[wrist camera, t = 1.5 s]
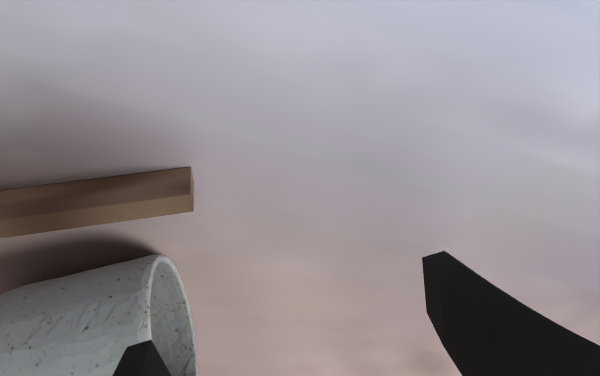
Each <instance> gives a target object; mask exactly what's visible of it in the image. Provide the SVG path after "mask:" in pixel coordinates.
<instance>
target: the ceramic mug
mask: <svg viewBox="0 0 600 376" xmlns="http://www.w3.org/2000/svg"><path fill="white" fill-rule="evenodd" d="M148 340H152V342H153V344H154V346H155V347H156V349H157V351H158V353H159V354H160V356H161V358H162V360H163V361H164V363H165V365H166V367H167V368H168V370H169V372H170V374H171V376H198V364H197V349H196V341H195V332H194V327H193V320H192V315H191V310H190V306H189V303H188V300H187V297H186V292H185V288H184V285H183V282H182V280H181V278H180V275H179V273H178V270H177V269H176V268H175V265H174V263H173V262H172V261H171V260H170V259H169V258H168V257H167V256H166V255H162V254H155V255H149V256H145V257H142V258H138V259H134V260H130V261H126V262H121V263H117V264H112V265H108V266H104V267H100V268H96V269H92V270H88V271H84V272H80V273H76V274H72V275H68V276H64V277H60V278H55V279H50V280H45V281H40V282H36V283H32V284H28V285H24V286H20V287H17V288H15V289H13V290H10V291H7V292H5V293H2V294H0V376H112V375H113V373H114V371H115V369H116V367H117V365H118V363H119V361H120V359H121V357H122V355H123V353H124V351H125V350H126V348H127V347H128V346H131V345H134V344H138V343H141V342H144V341H148Z"/></svg>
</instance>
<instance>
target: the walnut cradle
mask: <svg viewBox="0 0 600 376" xmlns="http://www.w3.org/2000/svg"><path fill="white" fill-rule="evenodd" d="M193 202H194V182H193V176H192V171H191V167H186V168H178V169H170V170H162V171H154V172H146V173H138V174H130V175H122V176H114V177H106V178H98V179H90V180H82V181H74V182H66V183H58V184H50V185H42V186H34V187H26V188H18V189H10V190H2V191H0V238H5V237H13V236H20V235H27V234H34V233H41V232H48V231H56V230H63V229H70V228H77V227H84V226H91V225H99V224H106V223H113V222H120V221H127V220H135V219H142V218H149V217H156V216H163V215H170V214H178V213H185V212H192V211H193Z"/></svg>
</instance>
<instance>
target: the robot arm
mask: <svg viewBox="0 0 600 376" xmlns="http://www.w3.org/2000/svg"><path fill="white" fill-rule="evenodd" d="M422 262H423V274H424V286H425V298H426V309H427V314H428V316H429V318H430V320H431V322H432V324H433V326H434V328H435V330H436V332H437V334H438V336H439V338H440V340H441V342H442V344H443V346H444V348H445V349H446V351H447V352H448V354H449V356H450V357H451V359H452V360H453V362H454V363H455V365H456V366H457V368H458V370H459V371H460V373H461V374H462V376H600V346H599V345H597V344H595V343H593V342H591V341H589V340H587V339H585V338H583V337H581V336H579V335H577V334H575V333H573V332H571V331H570V330H568V329H566V328H564V327H562V326H560V325H558V324H557V323H555V322H553V321H551V320H550V319H548V318H546V317H544V316H543V315H541V314H539V313H537V312H536V311H534V310H532V309H531V308H529V307H527V306H526V305H524V304H522V303H521V302H519V301H518V300H516V299H515V298H513V297H511V296H510V295H508V294H507V293H505V292H504V291H502V290H501V289H499V288H497V287H496V286H494V285H493V284H491V283H490V282H488V281H487V280H486V279H484V278H483V277H481V276H480V275H478V274H477V273H475V272H474V271H473V270H471V269H470V268H468V267H467V266H465V265H464V264H463V263H461V262H460V261H458V260H457V259H456V258H454V257H453V256H451V255H450V254H449V253H447V252H445V251H442V252H439V253H436V254H432V255H429V256H426V257H423V258H422ZM112 376H171V374H170V372H169V370H168V368H167V367H166V365H165V363H164V361H163V360H162V358H161V356H160V354H159V353H158V351H157V349H156V347H155V346H154V344H153V342H152V340H148V341H144V342H141V343H138V344H134V345H131V346H128V347H127V348H126V350H125V351H124V353H123V355H122V357H121V359H120V361H119V363H118V365H117V367H116V369H115V371H114V373H113V375H112Z"/></svg>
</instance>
